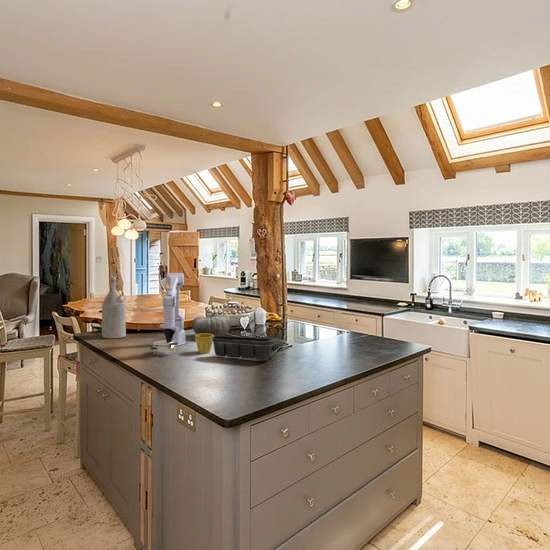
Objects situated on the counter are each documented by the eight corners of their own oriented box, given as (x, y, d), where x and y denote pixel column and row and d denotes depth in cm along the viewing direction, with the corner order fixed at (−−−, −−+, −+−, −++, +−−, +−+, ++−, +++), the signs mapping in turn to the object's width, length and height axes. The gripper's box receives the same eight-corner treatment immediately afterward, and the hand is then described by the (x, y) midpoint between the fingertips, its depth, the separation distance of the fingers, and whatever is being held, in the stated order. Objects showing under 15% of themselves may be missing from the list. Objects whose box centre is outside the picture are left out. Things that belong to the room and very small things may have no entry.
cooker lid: (166, 341, 227) (166, 339, 227) (182, 343, 219) (182, 341, 219) (148, 344, 218) (148, 342, 218) (164, 346, 209) (164, 344, 209)
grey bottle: (117, 339, 251) (118, 277, 249) (96, 337, 257) (96, 276, 255) (131, 336, 263) (131, 276, 261) (111, 334, 269) (111, 276, 267)
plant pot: (209, 355, 217) (209, 337, 217) (192, 353, 219) (192, 336, 219) (216, 350, 227) (216, 334, 227) (199, 349, 229) (199, 333, 229)
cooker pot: (169, 348, 230) (170, 340, 229) (183, 352, 223) (183, 343, 222) (144, 354, 216) (144, 345, 216) (158, 357, 209) (158, 348, 209)
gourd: (221, 338, 249) (218, 311, 251) (186, 341, 256) (184, 315, 258) (236, 335, 273) (234, 310, 274) (204, 338, 280) (202, 314, 281)
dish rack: (208, 358, 210) (208, 336, 210) (239, 342, 252) (239, 323, 252) (269, 365, 200) (269, 341, 200) (290, 346, 243) (291, 327, 242)
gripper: (155, 317, 217) (154, 341, 218) (171, 320, 208) (171, 345, 209) (165, 315, 223) (165, 339, 223) (182, 318, 214) (182, 343, 214)
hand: (169, 342), depth 216 cm, fingers closed
